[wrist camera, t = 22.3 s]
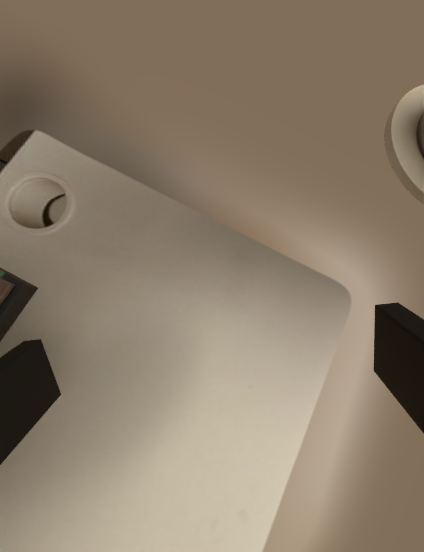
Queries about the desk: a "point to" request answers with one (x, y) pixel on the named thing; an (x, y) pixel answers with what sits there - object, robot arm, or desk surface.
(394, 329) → the robot arm
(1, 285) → the pan
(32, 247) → the desk surface
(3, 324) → the scale base
